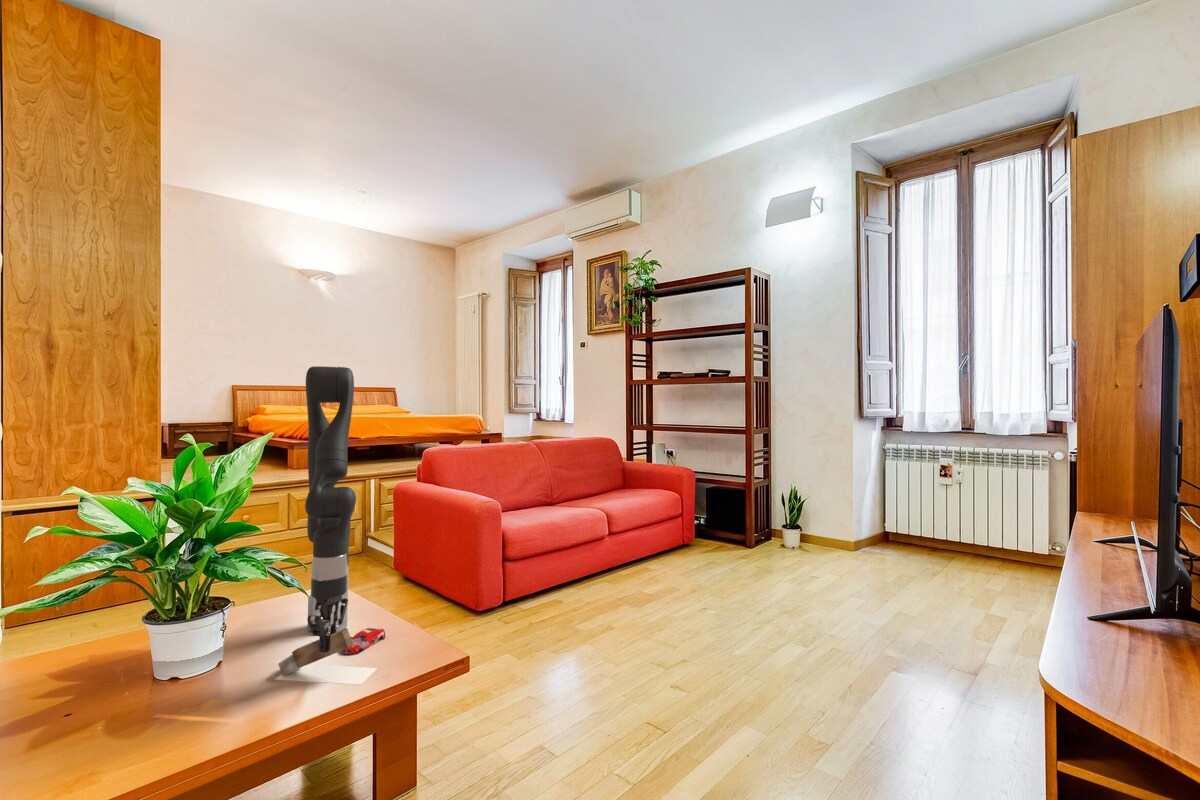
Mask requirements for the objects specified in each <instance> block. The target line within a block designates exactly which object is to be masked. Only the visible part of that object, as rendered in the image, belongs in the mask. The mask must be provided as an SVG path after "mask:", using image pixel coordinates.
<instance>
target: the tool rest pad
mask: <svg viewBox="0 0 1200 800" xmlns="http://www.w3.org/2000/svg"><path fill="white" fill-rule="evenodd" d="M377 669H378V668H377V667H362V666H343V665H329V664H312V663H311V664H308V665H306V666H303V667H301V668H298V669H297V670H296V671H294V672H292V673H289V674H287V675H284V676H283V675H282V674H280V675H279V676H278V677H276V678H275V679H274V680H275V681H277V680H278V681H290V682H292V681H293V682H310V683H311V682H312V683H324V684H343V685H359V686H360V685H362V684H363V683H364V682H365V681H366V680H367V679H368V678H370V676H371V675H372V674H373V673H374V672H375V671H376V670H377Z"/></svg>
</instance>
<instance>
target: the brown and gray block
mask: <svg viewBox="0 0 1200 800" xmlns="http://www.w3.org/2000/svg"><path fill="white" fill-rule="evenodd" d="M351 637H352V636H351V634H350V632H349V630H348V628H347V627H346V628H345V629H343V630H341V631H338V632H336V633H334V634H331V636H330V651H328V652H327V653H326V652H320V651H319V640H320V638H319V639H317V640H315V641H312V642H310V643H307V644H304V645H302V646H299V647H297V648H296V649H294V650H293V651H291V654H290V655H288V656H287V657H286V658H284V659H283V660H281V661H280V662H279V663H277V664H278V667H279V670H280V673H281V675H283V676H284V675H287V674H289V673H292V672H294V671H296V670H297V669H298V668H301V667H303V666H306V665H308V664H312V663H316V662H317V661H320V660H322V659H325V658H328V657H329V656H333V655H334V654H335V655H336V654H337V653H339V652H341V651H342V650H345V649H347V648H349V647H350V646H351V645H353V642H352V640H351Z"/></svg>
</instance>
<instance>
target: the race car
mask: <svg viewBox="0 0 1200 800" xmlns="http://www.w3.org/2000/svg"><path fill="white" fill-rule="evenodd" d="M350 637H351V640H352V642H353V645H351V646H350V647H349V648H347V649H345V650H342V651H340V652H341V653H342V654H343V655H345V656H354V655H359V654H360V653H362V652H364V651H366V650H367V649H368V648H370V647H372V646H373V645H375V644H377V643H379V642H380V641H382V640H383V641H384V640H385V639H386V632H385V629H384V628H383V627H382V628H380V627H370V628H369V627H368V628H365V629H362V630H360V631H358V632H357V633H356V634H354V636H350Z"/></svg>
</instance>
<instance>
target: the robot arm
mask: <svg viewBox="0 0 1200 800" xmlns="http://www.w3.org/2000/svg"><path fill="white" fill-rule="evenodd" d="M354 393H355V378H354V373H353V371H352V369H351V368H349V367H344V366H343V367H342V366H337V367H336V366H321V365H320V366H310V367H309V368H308V369H307V371H306V374H305V397H306V410H307V420H308V423H307V424H308V425H307V426H308V434H307V435H308V437H307V438H308V440H307V470H308V471H307V472H308V494H307V496H306V500H305V504H304V510H305V512H306V514H307V525H306V526H307V529H306V530H307V538H308V540H309V542H310V543H312V546H313V547H312V548H313V549H312V561H311V575H310V577H311V578H310V595H308V597H307V604H308V605H307V629H306V630H307V632H311V633H312V636H313V637H318V638H319V639H320V640H319V639H318V640H319V651H320V652H326V653H327V652H328V651H330V636H331V634H334V633H336V632H338V631H341V630H343V629H345V628H347V627H348V618H349V617H348V612H349V611H348V610H349V609H348V608H349V607H348V606H349V605H348V603H349V566H350V564H349V563H350V562H349V561H350V558H349V557H350V556H349V554H350V553H349V552H350V551H349V549H350V535H351V534H350V533H351V519H352V515H353V513H354V510H355V507H356V503H357V496H356V493H355V491H354V489H352V488H351V487H349V486H338V487H337V486H336V485H337V483H338V482H339V481H340V480H342V479H343V480H344V478H345V477H346V476H347V474H348V464H349V463H348V453H349V451H348V446H349V435H350V434H349V433H350V429H351V427H350V426H351V421H352V413H353V402H354ZM321 403H324V404H325V403H326V404H329V403H330V404H331V403H332V404H333V403H335V404H339V405H338V409H337V412H336V414H335V416H334V417H333V419H332V420H331V422H329V420H328V418H327V417H326V415H325V412H324V411H323V407H322V404H321Z"/></svg>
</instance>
